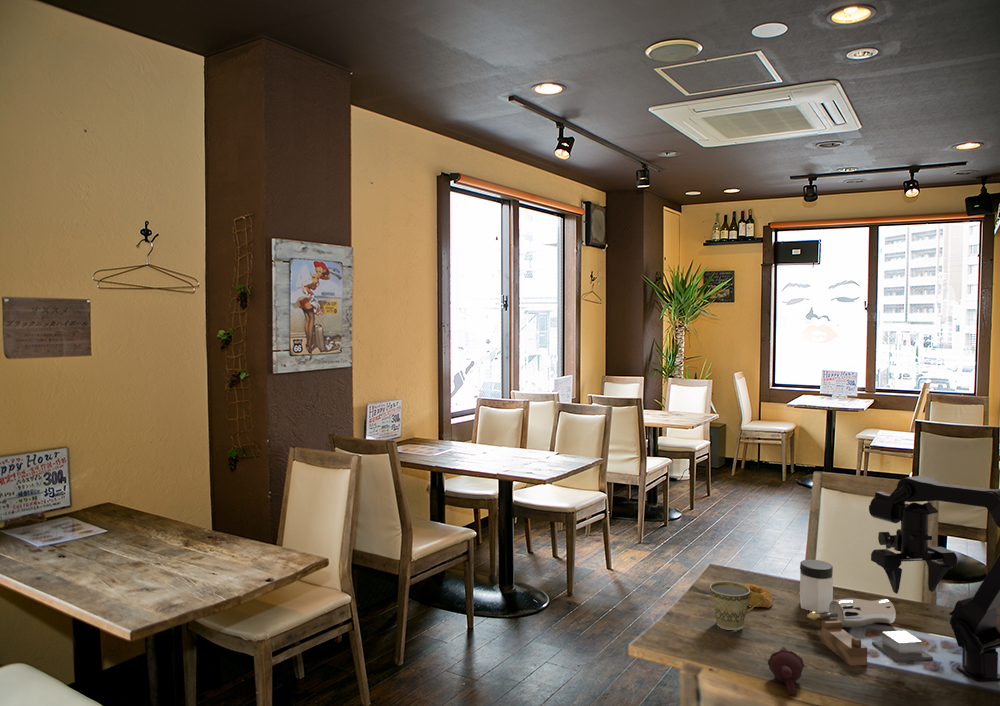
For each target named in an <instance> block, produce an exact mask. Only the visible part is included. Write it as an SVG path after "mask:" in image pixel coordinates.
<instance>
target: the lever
mask: <svg viewBox="0 0 1000 706" xmlns="http://www.w3.org/2000/svg"><path fill="white" fill-rule="evenodd" d="M806 616H807V618H810V619H811V620H813V621H816V620H817V619H818V618H821V619H827V618H828V619H829V618H830V617H838V614H837V613H829V614H828V613H816V612H811V611H809V614H807V615H806Z"/></svg>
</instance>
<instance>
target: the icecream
mask: <svg viewBox="0 0 1000 706" xmlns="http://www.w3.org/2000/svg"><path fill="white" fill-rule="evenodd" d="M767 665H768V668H769V670H770V671H771V672H772V674H773V676H774V678H775V679H776V680H777V681H780V682H782V683H783V684H786V689H787V693H788V694H789V696H794V695H796V685H795V683H796V682H797V681H798V680H799V679H800V678H801V677H802V673H803V669H804V668H805V664H804V660H803V658H802V657H801V656H799V655H797V654H796V653H795V652H794V651H791V650H788V649H787V648H786V647H785V646H783V647H781V648H780V650H779V651H775V652H773V653H772V654H771V655H770V657H769V659H768V661H767Z"/></svg>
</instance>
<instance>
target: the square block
mask: <svg viewBox="0 0 1000 706" xmlns="http://www.w3.org/2000/svg"><path fill="white" fill-rule="evenodd" d="M881 637H882V638H881V639H882V640H881V641H882V644H883V645H884V646H886V647H887V648H889V649H890V650H891V651H893V652H894V653H896V654H897V655H899V656H902V655H918V654H922V650H923V640H921V639H919V638H917V637H916V636H914V635H913V634H911V633H910V632H908V631H906V630H894V631H893V630H891V631H882V636H881Z"/></svg>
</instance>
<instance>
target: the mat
mask: <svg viewBox="0 0 1000 706" xmlns="http://www.w3.org/2000/svg"><path fill="white" fill-rule="evenodd" d="M871 645H872V646H873V647H876V648H877V649H878V650H880V651H881V652H882V653H884V654H885V655H886V656H888V657H889V658H891V659H892V660H893V661H894V662H896V663H897V662H898V663H899V661H900V662H911V661H910V660H916V661H928V659H932V660H934V659H933V658H934V657H933V656H932V655H931V654H929V653H928V652H926V651H924V650H923V649H922V654H918V655H902V656H899V655H897V654H896V653H894V652H893V651H891V650H890V649H889V648H887V647H886V646H884V645H883V644H882V640H879V641H876V640H875V641H871Z"/></svg>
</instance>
